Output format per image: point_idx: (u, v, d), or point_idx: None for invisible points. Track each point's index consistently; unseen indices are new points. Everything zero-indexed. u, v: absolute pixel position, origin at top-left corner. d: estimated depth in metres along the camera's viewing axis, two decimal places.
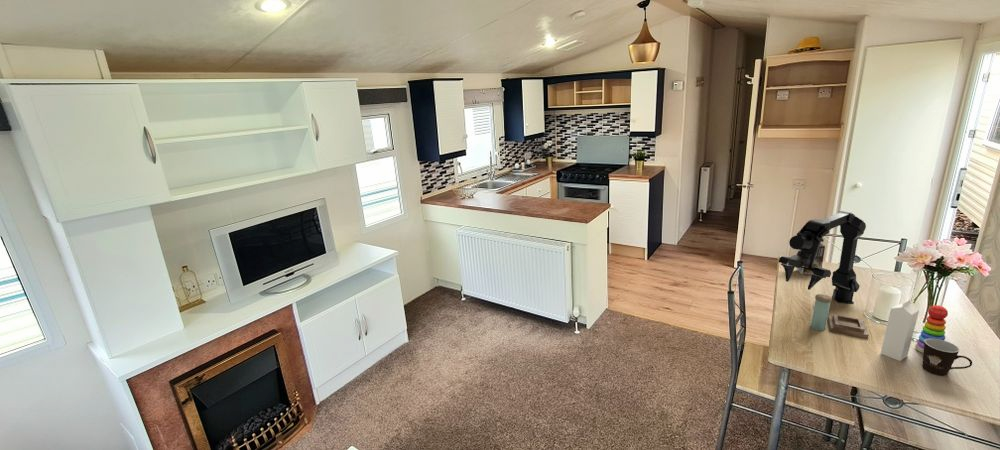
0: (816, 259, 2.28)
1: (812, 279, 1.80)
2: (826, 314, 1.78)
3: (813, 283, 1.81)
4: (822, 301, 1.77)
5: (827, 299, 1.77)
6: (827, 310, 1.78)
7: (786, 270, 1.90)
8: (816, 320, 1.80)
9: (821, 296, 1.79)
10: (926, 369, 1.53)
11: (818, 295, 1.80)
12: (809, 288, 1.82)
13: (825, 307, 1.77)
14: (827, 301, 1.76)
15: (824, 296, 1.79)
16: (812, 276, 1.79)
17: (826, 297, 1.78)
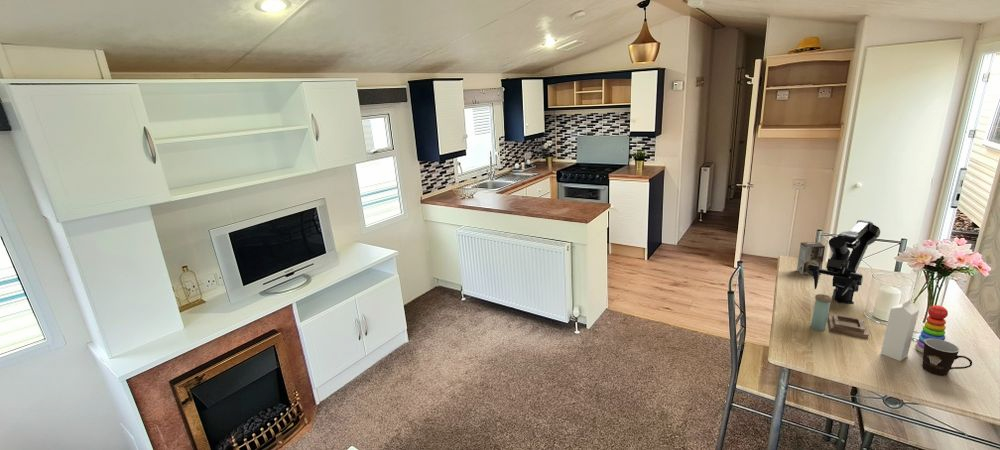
0: (816, 259, 2.28)
1: (847, 284, 1.80)
2: (826, 314, 1.78)
3: (847, 289, 1.81)
4: (822, 301, 1.77)
5: (827, 299, 1.77)
6: (827, 310, 1.78)
7: (815, 277, 1.88)
8: (816, 320, 1.80)
9: (821, 296, 1.79)
10: (926, 369, 1.53)
11: (818, 295, 1.80)
12: (843, 293, 1.80)
13: (825, 307, 1.77)
14: (827, 301, 1.76)
15: (824, 296, 1.79)
16: (849, 280, 1.80)
17: (826, 297, 1.78)
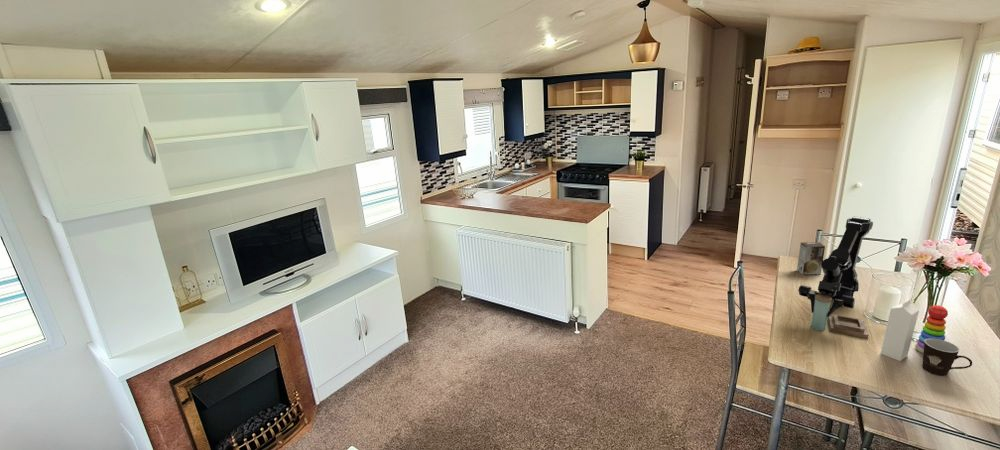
0: (816, 259, 2.28)
1: (833, 306, 1.78)
2: (826, 314, 1.78)
3: (833, 310, 1.78)
4: (822, 301, 1.77)
5: (827, 299, 1.77)
6: (827, 310, 1.78)
7: (812, 300, 1.83)
8: (816, 320, 1.80)
9: (821, 296, 1.79)
10: (926, 369, 1.53)
11: (818, 295, 1.80)
12: (829, 315, 1.78)
13: (825, 307, 1.77)
14: (827, 301, 1.76)
15: (824, 296, 1.79)
16: (834, 301, 1.77)
17: (826, 297, 1.78)
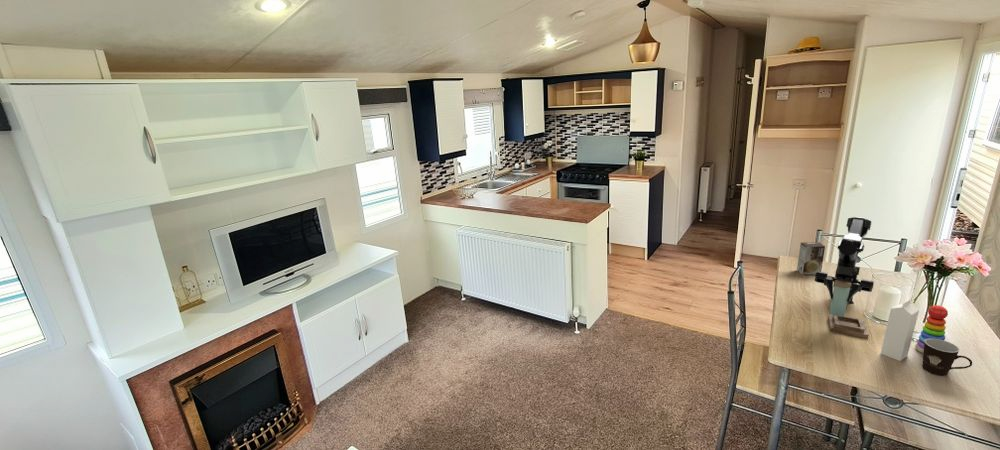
0: (816, 259, 2.28)
1: (852, 290, 1.75)
2: (846, 299, 1.75)
3: (852, 295, 1.75)
4: (843, 287, 1.74)
5: (847, 284, 1.74)
6: (847, 295, 1.75)
7: (831, 286, 1.79)
8: (836, 306, 1.77)
9: (840, 282, 1.76)
10: (926, 369, 1.53)
11: (837, 281, 1.77)
12: (849, 300, 1.75)
13: (845, 293, 1.74)
14: (848, 286, 1.73)
15: (843, 281, 1.76)
16: (854, 286, 1.75)
17: (846, 282, 1.75)
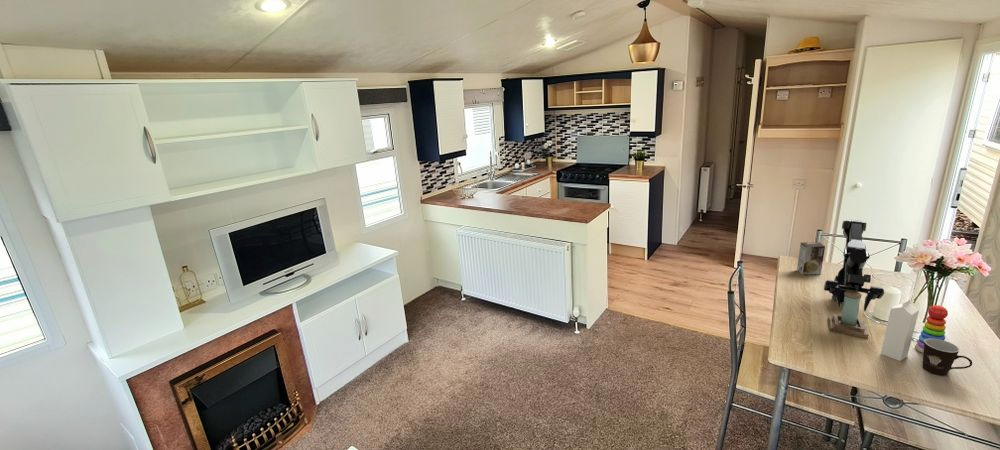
0: (816, 259, 2.28)
1: (868, 299, 1.76)
2: (857, 310, 1.77)
3: (868, 303, 1.76)
4: (854, 298, 1.75)
5: (858, 295, 1.75)
6: (858, 306, 1.76)
7: (838, 294, 1.81)
8: (848, 317, 1.78)
9: (850, 293, 1.77)
10: (926, 369, 1.53)
11: (847, 292, 1.78)
12: None
13: (856, 304, 1.76)
14: (859, 297, 1.75)
15: (853, 292, 1.78)
16: (870, 295, 1.75)
17: (856, 293, 1.77)
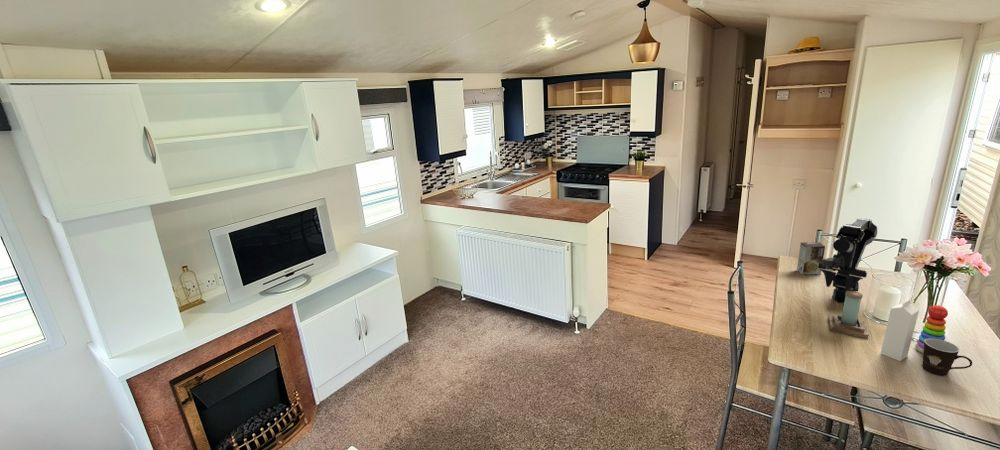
0: (816, 259, 2.28)
1: (847, 280, 1.84)
2: (858, 310, 1.77)
3: (849, 284, 1.84)
4: (855, 298, 1.75)
5: (859, 295, 1.75)
6: (859, 306, 1.76)
7: (826, 275, 1.95)
8: (848, 317, 1.78)
9: (851, 293, 1.77)
10: (926, 369, 1.53)
11: (848, 292, 1.78)
12: (846, 289, 1.85)
13: (857, 304, 1.76)
14: (860, 297, 1.75)
15: (854, 292, 1.78)
16: (846, 276, 1.84)
17: (857, 293, 1.77)
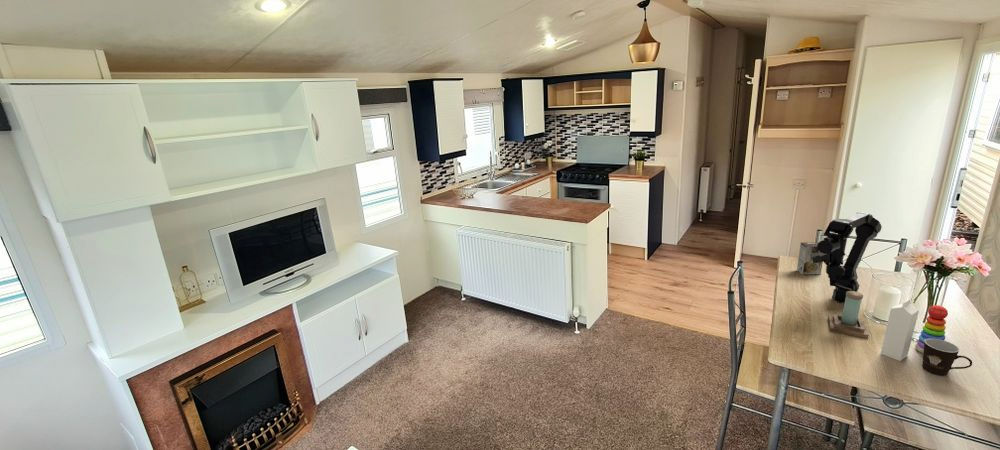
0: None
1: (829, 276, 1.89)
2: (858, 311, 1.77)
3: (832, 280, 1.88)
4: (856, 298, 1.75)
5: (860, 296, 1.75)
6: (859, 306, 1.76)
7: None
8: (849, 317, 1.78)
9: (852, 293, 1.77)
10: (926, 369, 1.53)
11: (848, 292, 1.78)
12: (830, 284, 1.90)
13: (858, 304, 1.75)
14: (860, 298, 1.74)
15: (854, 293, 1.77)
16: None
17: (857, 294, 1.76)
